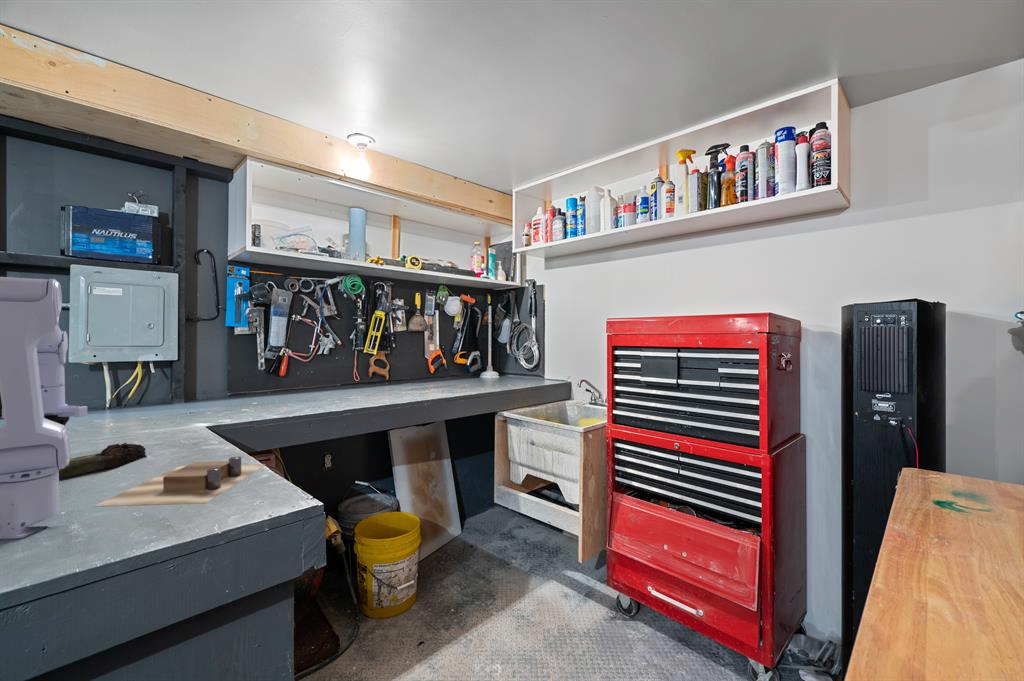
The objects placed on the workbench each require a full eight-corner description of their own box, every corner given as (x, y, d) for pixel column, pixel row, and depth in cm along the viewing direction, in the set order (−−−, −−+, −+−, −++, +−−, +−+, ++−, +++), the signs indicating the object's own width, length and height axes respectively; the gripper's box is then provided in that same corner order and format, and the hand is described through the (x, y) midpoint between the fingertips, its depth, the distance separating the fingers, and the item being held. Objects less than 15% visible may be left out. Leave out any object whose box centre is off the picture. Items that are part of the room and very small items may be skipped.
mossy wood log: (50, 484, 97) (50, 459, 97) (43, 479, 100) (42, 455, 100) (148, 463, 112) (148, 441, 112) (139, 459, 115) (138, 438, 115)
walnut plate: (204, 490, 89) (204, 476, 89) (163, 491, 88) (163, 477, 88) (231, 474, 99) (231, 461, 99) (195, 475, 98) (194, 462, 98)
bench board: (205, 510, 82) (205, 482, 82) (92, 514, 80) (92, 485, 80) (265, 470, 106) (265, 448, 106) (180, 472, 104) (179, 449, 104)
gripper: (99, 383, 93) (100, 445, 93) (26, 384, 92) (27, 446, 92) (69, 388, 86) (70, 455, 86) (-11, 388, 85) (-9, 456, 85)
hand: (46, 451), depth 89 cm, fingers closed
